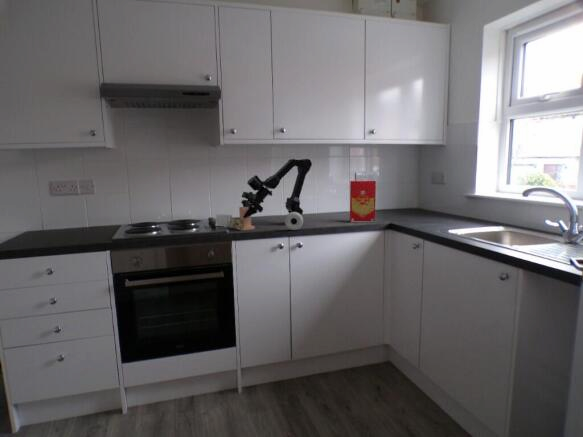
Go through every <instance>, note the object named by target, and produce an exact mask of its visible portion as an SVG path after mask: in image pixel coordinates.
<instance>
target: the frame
mask: <svg viewBox="0 0 583 437" xmlns="http://www.w3.org/2000/svg"><path fill="white" fill-rule="evenodd" d="M215 218H216V219H215V220H216V226H217V225H221V226H224V227H223V228H231V223H230V219H231V218H233V214H223V213H222V214H221V213H220V214H219V213H218V214H215Z"/></svg>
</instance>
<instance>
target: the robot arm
mask: <svg viewBox="0 0 583 437" xmlns="http://www.w3.org/2000/svg"><path fill="white" fill-rule="evenodd" d="M312 165H313V164H312V161H311V160H310V159H309V158H302V159H301V158H300V159H296V158H291V159H288V161H286V163H284V165H283V166H281V168H280V169H279V170H277V171H276V173H274V174H272V175H270V176H269V177H267V178H266V179H265V180H263V181H262V180H261V179H260V178H259V176H258V175H257V174H255V175H253V177H251V178H250V179H248V180H247V183H246V184H247V185H248V186H249V187H250V188H251V189H252V190H253V191H256V192H255V193H254V192H252V191H243V192H242V193H241V198H244V199H242V200H241V201H240V203H241V205H242V207H249V208H248V210H247V212H246V213H245V215H244V216H243V218H247V217H249V216H251V217H252V216H253V215H255V214H258V213H262V212H263V210H264V207H263V206H262V205H261V204H262V203H264V200H265V199H266V198H267V197H268V196H270V197H272V196H273V191H272V190H275V189H276V188H277V187H278V186H279V185H280V182H281V180H282V179H283V178H284V177H285V176H286V175H287V174H288V173H289V172H290V171H291V170H292V169H293V168H294V167H296V168H297V176H296V178H295V182H294V185H293V186H294V187H293V189H292V192H291V195H290V197H286V202H285V203H284V204H285V209H286V210H287V212H288V214H289V213H291V212H297V213H299V214H300V215H301V216H302V215H303V212H304V210H303V209H302V208H301V207H300V205H301V201H300V196H301V193H302V190H303V186H304V182H305V179H306V176H307V174H308V172H309V171H310V170H311V167H312ZM269 189H270V190H269ZM291 223H292V224H296V223H297V219H295V218H293V219H291Z"/></svg>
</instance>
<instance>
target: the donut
mask: <svg viewBox="0 0 583 437" xmlns="http://www.w3.org/2000/svg"><path fill="white" fill-rule="evenodd" d="M293 218H295V219H297V223H296V224H292V223H291V219H293ZM284 224H285V226H286V228H287V229H288V230H291V231H297V230H299V229H301V228H302V226H303V224H304V218H303V216H302V214H301V215H300V214H299V213H297V212H291V213H289V212H288V213H287V215H286V216H285V218H284Z"/></svg>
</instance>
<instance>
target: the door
mask: <svg viewBox="0 0 583 437" xmlns="http://www.w3.org/2000/svg"><path fill="white" fill-rule="evenodd" d="M230 223H231V227H230V229H231V228H232V229H236V230H239V231H244V230H243V221H241V220H240V219H236V218H234V217H232V218H231V219H230Z"/></svg>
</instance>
